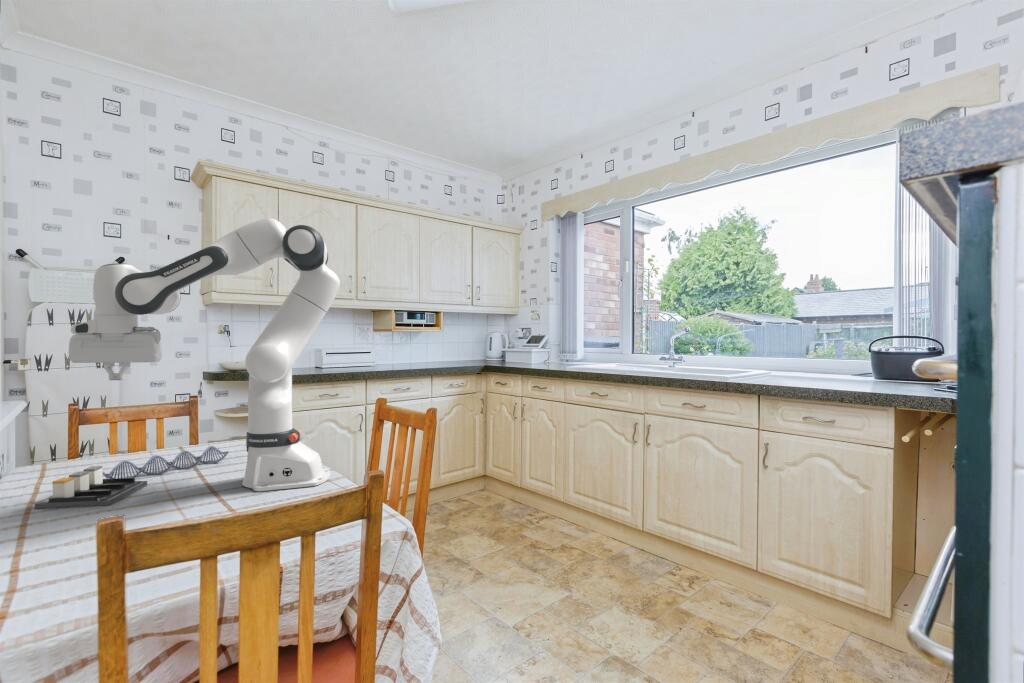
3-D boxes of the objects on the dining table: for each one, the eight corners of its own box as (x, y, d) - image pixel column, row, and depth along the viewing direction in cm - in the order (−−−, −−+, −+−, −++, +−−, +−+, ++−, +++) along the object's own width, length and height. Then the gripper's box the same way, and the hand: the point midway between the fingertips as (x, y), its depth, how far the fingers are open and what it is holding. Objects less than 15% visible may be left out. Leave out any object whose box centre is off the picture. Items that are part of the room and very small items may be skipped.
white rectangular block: (89, 489, 124) (88, 471, 124) (80, 493, 121) (80, 474, 121) (78, 489, 124) (77, 471, 124) (69, 493, 121) (68, 475, 121)
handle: (102, 483, 129) (102, 465, 129) (94, 486, 126) (94, 469, 126) (92, 483, 129) (91, 466, 129) (84, 487, 126) (83, 469, 126)
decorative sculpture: (229, 462, 155) (229, 443, 155) (106, 488, 130) (105, 466, 130) (221, 459, 158) (221, 441, 158) (100, 484, 134) (99, 463, 134)
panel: (147, 485, 132) (147, 477, 132) (109, 505, 117) (109, 496, 117) (81, 487, 130) (81, 479, 130) (34, 508, 115) (34, 499, 115)
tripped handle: (74, 495, 119) (73, 477, 119) (64, 500, 116) (64, 481, 116) (62, 496, 119) (62, 477, 119) (53, 500, 116) (52, 481, 116)
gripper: (166, 326, 130) (167, 378, 131) (82, 326, 127) (83, 379, 128) (152, 326, 124) (153, 380, 124) (63, 326, 121) (64, 382, 122)
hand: (117, 380), depth 126 cm, fingers closed
